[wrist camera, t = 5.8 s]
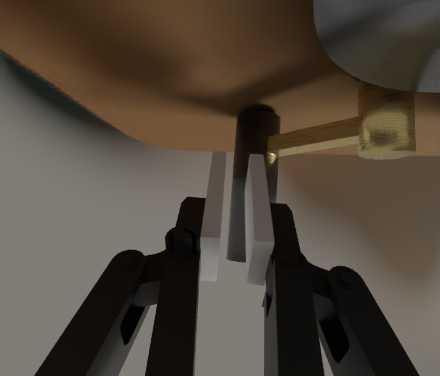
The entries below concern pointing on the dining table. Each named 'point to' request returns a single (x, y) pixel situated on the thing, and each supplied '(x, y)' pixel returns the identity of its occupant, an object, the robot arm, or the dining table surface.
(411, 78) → the plate
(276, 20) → the dining table surface
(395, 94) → the lever
